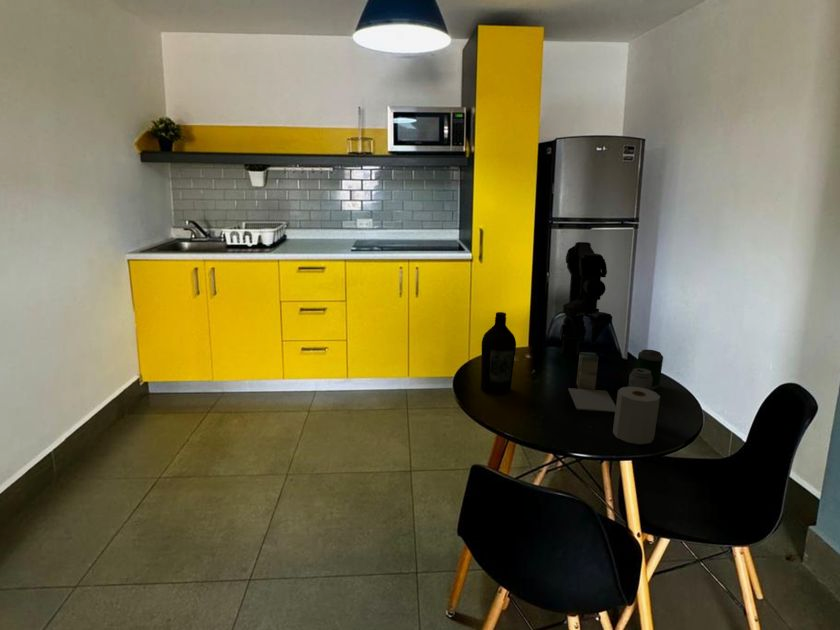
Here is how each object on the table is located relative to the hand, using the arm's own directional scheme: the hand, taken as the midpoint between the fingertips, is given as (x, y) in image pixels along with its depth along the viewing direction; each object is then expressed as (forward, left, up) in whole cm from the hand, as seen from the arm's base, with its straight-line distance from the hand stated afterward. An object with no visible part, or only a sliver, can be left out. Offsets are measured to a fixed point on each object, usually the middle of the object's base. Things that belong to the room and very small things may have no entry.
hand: (584, 338), depth 192 cm
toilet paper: (+35, +27, -14) cm, 46 cm away
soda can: (-5, +21, -14) cm, 25 cm away
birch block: (+8, +5, -14) cm, 17 cm away
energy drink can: (+25, +25, -14) cm, 38 cm away
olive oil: (+29, -17, -14) cm, 37 cm away
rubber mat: (+18, +10, -14) cm, 25 cm away
